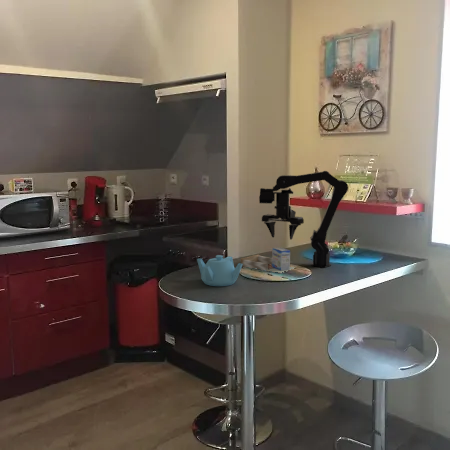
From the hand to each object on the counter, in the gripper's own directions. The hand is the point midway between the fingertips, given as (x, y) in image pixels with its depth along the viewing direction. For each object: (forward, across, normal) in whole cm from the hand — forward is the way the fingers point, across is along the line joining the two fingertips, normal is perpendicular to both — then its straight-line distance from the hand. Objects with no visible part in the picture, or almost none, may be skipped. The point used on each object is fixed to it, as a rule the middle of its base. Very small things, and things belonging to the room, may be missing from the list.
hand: (282, 238), depth 231 cm
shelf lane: (+12, +5, +8) cm, 16 cm away
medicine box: (+12, -5, +9) cm, 16 cm away
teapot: (+12, +3, +43) cm, 45 cm away
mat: (+12, -5, +9) cm, 16 cm away
